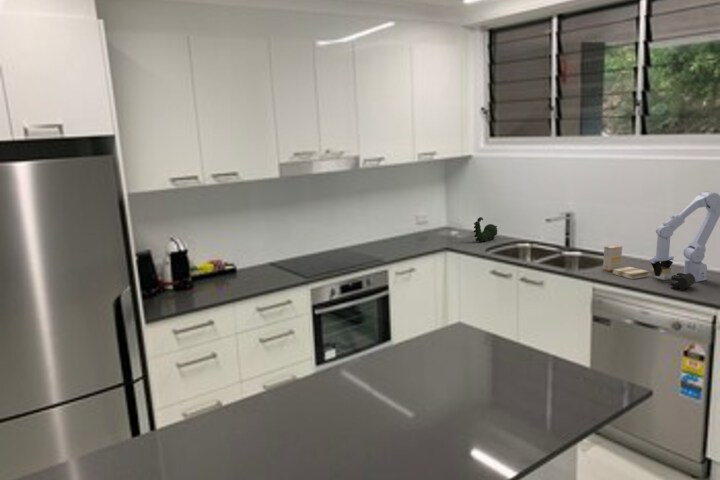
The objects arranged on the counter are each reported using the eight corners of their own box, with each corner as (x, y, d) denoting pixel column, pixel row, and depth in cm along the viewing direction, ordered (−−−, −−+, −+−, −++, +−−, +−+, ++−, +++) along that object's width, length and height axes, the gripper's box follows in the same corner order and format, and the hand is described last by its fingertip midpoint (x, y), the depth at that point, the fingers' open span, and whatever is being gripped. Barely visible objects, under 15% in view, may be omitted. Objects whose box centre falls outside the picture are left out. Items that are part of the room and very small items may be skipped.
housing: (670, 279, 269) (671, 268, 268) (664, 280, 267) (664, 269, 266) (657, 275, 276) (657, 265, 275) (650, 276, 274) (651, 266, 273)
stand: (649, 276, 276) (649, 271, 275) (632, 279, 271) (632, 274, 270) (629, 271, 286) (629, 266, 286) (612, 273, 282) (613, 269, 281)
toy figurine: (482, 246, 366) (502, 237, 382) (481, 219, 361) (501, 212, 377) (470, 244, 373) (491, 236, 389) (469, 218, 368) (490, 210, 384)
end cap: (686, 292, 248) (687, 278, 247) (670, 288, 253) (671, 275, 252) (694, 287, 254) (696, 274, 253) (678, 284, 260) (679, 271, 258)
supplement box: (613, 267, 294) (615, 244, 292) (621, 269, 290) (622, 246, 287) (602, 269, 292) (603, 245, 289) (609, 271, 287) (610, 247, 285)
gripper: (665, 246, 275) (663, 271, 278) (645, 249, 270) (643, 275, 272) (678, 248, 269) (676, 274, 271) (658, 251, 263) (656, 278, 266)
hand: (660, 275), depth 271 cm, fingers closed on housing, 5 cm apart
